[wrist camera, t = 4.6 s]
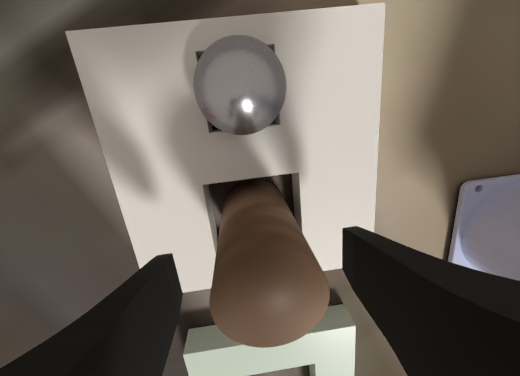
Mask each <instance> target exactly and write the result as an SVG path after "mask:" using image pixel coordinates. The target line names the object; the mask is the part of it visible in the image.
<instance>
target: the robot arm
mask: <svg viewBox="0 0 520 376" xmlns="http://www.w3.org/2000/svg"><path fill="white" fill-rule="evenodd" d="M475 188H476V189H475ZM342 269H343V271H344V273H345V275H346V277H347V279H348V281H349V283H350V285H351V287H352V289H353V290H354V292H355V293H356V295H357V296H358V298H359V299H360V301H361V302H362V304H363V305H364V307H365V308H366V310H367V311H368V313H369V314H370V316H371V317H372V319H373V320H374V322H375V323H376V325H377V326H378V327H379V329H380V330H381V332H382V333H383V335H384V336H385V338H386V339H387V341H388V342H389V344H390V346H391V347H392V349H393V350H394V352H395V354H396V356H397V357H398V359H399V361H400V363H401V365H402V366H403V368H404V370H405V372H406V373H407V375H408V376H520V174H516V175H509V176H501V177H494V178H487V179H479V180H472V181H467V182H465V183H463V184H462V186H461V188H460V192H459V198H458V204H457V210H456V216H455V222H454V228H453V234H452V240H451V246H450V252H449V258H448V261H445V260H442V259H439V258H436V257H433V256H431V255H428V254H425V253H423V252H420V251H417V250H415V249H412V248H409V247H407V246H404V245H402V244H400V243H397V242H395V241H392V240H390V239H388V238H385V237H383V236H381V235H378V234H376V233H374V232H371V231H369V230H366V229H364V228H361V227H358V226H353V227H346V228H342ZM182 295H183V293H182V289H181V285H180V281H179V277H178V273H177V269H176V266H175V262H174V258H173V254H172V253H169V254H162V255H157V256H155V257H154V258H153V259H151V260H150V261H149V262H148V263H147V264H145V265H144V266H143V267H142V268H141V269H139V270H138V271H137V272H136V273H135V274H134V275H132V276H131V277H130V278H129V279H128V280H127V281H125V282H124V283H123V284H122V285H121V286H119V287H118V288H117V289H116V290H115V291H113V292H112V293H111V294H110V295H108V296H107V297H106V298H104V299H103V300H102V301H101V302H99V303H98V304H97V305H96V306H94V307H93V308H92V309H91V310H89V311H88V312H87V313H85V314H84V315H82V316H81V317H80V318H78V319H77V320H76V321H74V322H73V323H71V324H70V325H68V326H67V327H65V328H64V329H62V330H61V331H60V332H58V333H57V334H55V335H54V336H52V337H51V338H49V339H48V340H46V341H44V342H43V343H41V344H39V345H38V346H36V347H35V348H33V349H31V350H30V351H28V352H27V353H25V354H23V355H22V356H20V357H18V358H17V359H15V360H14V361H12V362H10V363H9V364H7V365H5V366H4V367H2V368H0V376H162V373H163V370H164V367H165V363H166V360H167V357H168V353H169V350H170V347H171V343H172V340H173V336H174V333H175V329H176V326H177V322H178V319H179V314H180V308H181V302H182Z"/></svg>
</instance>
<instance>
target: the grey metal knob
mask: <svg viewBox="0 0 520 376" xmlns="http://www.w3.org/2000/svg"><path fill="white" fill-rule="evenodd" d="M193 87H194V94H195V98H196V101H197V104H198V106H199V108H200V110H201V112H202V113H203V115H204V116H205V118H206V119H207V120H208V121H209V122H210V123H211V124H212V125H214V126H215V127H217V128H218V129H220V130H222V131H224V132H226V133H229V134H234V135H249V134H253V133H256V132H259V131H261V130H263V129H264V128H266V127H267V126H269V125H270V124H271V123H272V122H273V121H274V120H275V119H276V117H277V116H278V114H279V113H280V111H281V109H282V107H283V104H284V101H285V97H286V77H285V73H284V69H283V67H282V64H281V62H280V60H279V58H278V57H277V55H276V54H275V53H274V52H273V50H272V49H271V48H270V47H268V46H267V45H266V44H265V43H263V42H262V41H260V40H258V39H256V38H254V37H250V36H246V35H231V36H226V37H223V38H221V39H219V40H217V41H215V42H214V43H213V44H211V45H210V46H209V47H208V48H207V49H206V50H205V51H204V53H203V54H202V55H201V57H200V59H199V60H198V63H197V65H196V68H195V72H194V79H193Z"/></svg>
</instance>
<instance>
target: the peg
mask: <svg viewBox="0 0 520 376" xmlns="http://www.w3.org/2000/svg"><path fill="white" fill-rule="evenodd" d="M329 299H330V289H329V284H328V280H327V278H326V276H325V274H324V272H323V270H322V268H321V266H320V265H319V263H318V261H317V259H316V257H315V255H314V253H313V252H312V250H311V248H310V246H309V244H308V242H307V240H306V239H305V237H304V235H303V233H302V231H301V229H300V228H299V226H298V224H297V222H296V220H295V218H294V216H293V215H292V213H291V211H290V209H289V207H288V205H287V203H286V202H285V200H284V198H283V196H282V194H281V193H280V191H279V190H278V189H277V188H276V187H275V186H274V185H273V184H271V183H270V182H268V181H265V180H261V179H248V180H244V181H242V182H239V183H238V184H236V185H235V186H233V187H232V188H231V189H230V190H229V192H228V193H227V195H226V197H225V199H224V203H223V209H222V216H221V223H220V230H219V237H218V244H217V251H216V258H215V265H214V272H213V280H212V287H211V294H210V312H211V315H212V318H213V320H214V322H215V324H216V326H217V327H218V328H219V330H220V331H221V332H222V333H223V334H225V335H226V336H227V337H228V338H230V339H232V340H233V341H235V342H238V343H240V344H243V345H246V346H251V347H259V348H269V347H277V346H281V345H285V344H288V343H291V342H293V341H296V340H298V339H299V338H301V337H303V336H305V335H306V334H307V333H309V332H310V331H311V330H312V329H313V328H314V327H315V326H316V325H317V324H318V323H319V322H320V320H321V319H322V318H323V316H324V314H325V312H326V310H327V307H328V304H329Z"/></svg>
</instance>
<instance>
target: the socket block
mask: <svg viewBox="0 0 520 376" xmlns="http://www.w3.org/2000/svg"><path fill="white" fill-rule="evenodd" d="M384 21H385V3H375V4H364V5H353V6H341V7H330V8H319V9H308V10H297V11H286V12H274V13H263V14H252V15H241V16H230V17H218V18H207V19H196V20H185V21H174V22H163V23H151V24H140V25H129V26H118V27H107V28H96V29H84V30H73V31H65V33H66V36H67V39H68V43H69V46H70V49H71V52H72V55H73V58H74V62H75V65H76V68H77V71H78V74H79V77H80V81H81V84H82V87H83V90H84V93H85V96H86V100H87V103H88V106H89V109H90V112H91V115H92V119H93V122H94V125H95V128H96V131H97V134H98V138H99V141H100V144H101V147H102V150H103V153H104V157H105V160H106V163H107V166H108V169H109V172H110V176H111V179H112V182H113V185H114V188H115V191H116V195H117V198H118V201H119V204H120V207H121V210H122V214H123V217H124V220H125V223H126V226H127V229H128V233H129V236H130V239H131V242H132V245H133V248H134V252H135V255H136V258H137V261H138V264H139V267H140V269H141V268H142V267H143V266H144V265H145V264H147V263H148V262H149V261H150V260H151V259H153V258H154V257H155V256H157V255H162V254H169V253H172V254H173V258H174V262H175V266H176V269H177V273H178V277H179V281H180V285H181V289H182V293H184V292H190V291H197V290H203V289H210V288H211V287H212V280H213V272H214V265H215V258H216V251H217V244H218V234H217V228H216V223H215V217H214V212H213V207H212V201H211V196H210V190H209V185H208V184H213V183H221V182H228V181H236V180H244V179H252V178H259V177H267V176H275V175H283V174H291V173H292V188H293V203H294V218H295V220H296V222H297V224H298V226H299V228H300V229H301V231H302V233H303V235H304V237H305V239H306V240H307V242H308V244H309V246H310V248H311V250H312V252H313V253H314V255H315V257H316V259H317V261H318V263H319V265H320V266H321V268H322V270H323V271H327V270H333V269H340V268H342V228H346V227H353V226H358V227H361V228H364V229H366V230H369V231H371V232H374V220H375V201H376V181H377V161H378V141H379V121H380V101H381V81H382V61H383V41H384ZM231 35H246V36H250V37H254V38H256V39H258V40H260V41H262V42H263V43H265V44H266V45H267V46H268V47H270V48H271V49H272V50H273V52H274V53H275V54H276V55H277V57H278V58H279V60H280V62H281V64H282V67H283V69H284V73H285V77H286V97H285V101H284V104H283V107H282V109H281V111H280V113H279V114H278V116H277V117H276V119H275V120H274V122H275V123H271V124H270V125H269V126H267V127H266V128H264V129H263V130H261V131H259V132H256V133H253V134H249V135H234V134H229V133H226V132H224V131H222V130H220V129H217V130H213V128H212V124H211V123H210V122H209V121H208V120H207V119H206V118H205V116H204V115H203V113H202V112H201V110H200V108H199V106H198V104H197V101H196V98H195V94H194V87H193V79H194V72H195V68H196V65H197V63H198V60H199V59H200V57H201V55H202V54H203V53H204V51H205V50H206V49H207V48H208V47H209V46H210V45H211V44H213V43H214V42H215V41H217V40H219V39H221V38H223V37H226V36H231Z"/></svg>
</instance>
